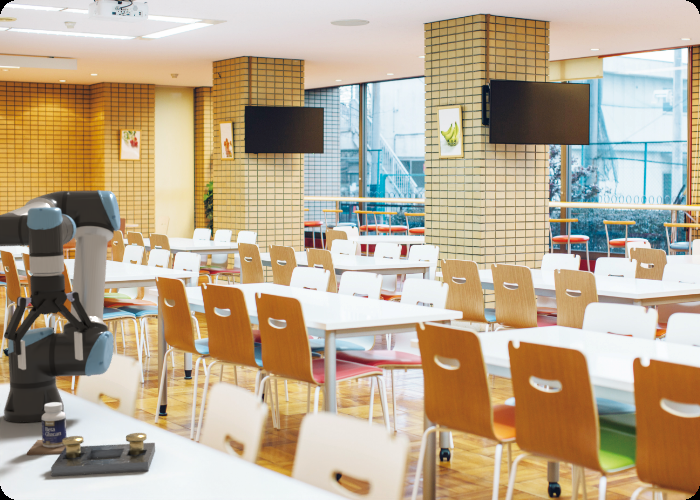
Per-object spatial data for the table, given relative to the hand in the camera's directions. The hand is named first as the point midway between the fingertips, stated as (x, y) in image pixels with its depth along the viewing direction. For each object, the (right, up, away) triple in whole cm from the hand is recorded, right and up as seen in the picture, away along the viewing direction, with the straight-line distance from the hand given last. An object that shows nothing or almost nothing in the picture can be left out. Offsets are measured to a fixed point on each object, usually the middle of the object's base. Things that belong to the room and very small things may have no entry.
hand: (51, 364), depth 196 cm
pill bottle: (0, -19, +1) cm, 20 cm away
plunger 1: (+9, -19, -12) cm, 24 cm away
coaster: (0, -20, +1) cm, 20 cm away
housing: (+16, -20, -11) cm, 28 cm away
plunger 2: (+23, -18, -10) cm, 31 cm away
